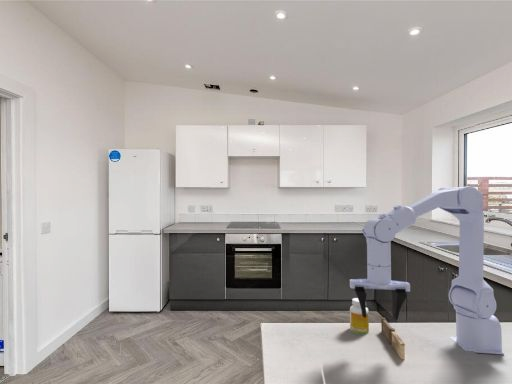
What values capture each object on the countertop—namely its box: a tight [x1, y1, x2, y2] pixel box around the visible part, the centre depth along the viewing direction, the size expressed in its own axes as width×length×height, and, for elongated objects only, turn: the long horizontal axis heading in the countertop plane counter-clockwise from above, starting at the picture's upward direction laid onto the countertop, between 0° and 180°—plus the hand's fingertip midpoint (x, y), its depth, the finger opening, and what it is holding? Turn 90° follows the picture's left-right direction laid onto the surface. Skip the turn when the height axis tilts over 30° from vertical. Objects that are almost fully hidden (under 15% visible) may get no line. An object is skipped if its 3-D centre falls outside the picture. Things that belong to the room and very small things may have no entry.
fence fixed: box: [380, 317, 396, 346], centre depth 83 cm, size 2×9×5 cm, turn 172°
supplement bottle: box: [349, 297, 370, 335], centre depth 87 cm, size 5×5×10 cm
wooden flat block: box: [391, 331, 406, 361], centre depth 74 cm, size 7×1×4 cm, turn 173°
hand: (379, 317), depth 75 cm, fingers open, 7 cm apart
